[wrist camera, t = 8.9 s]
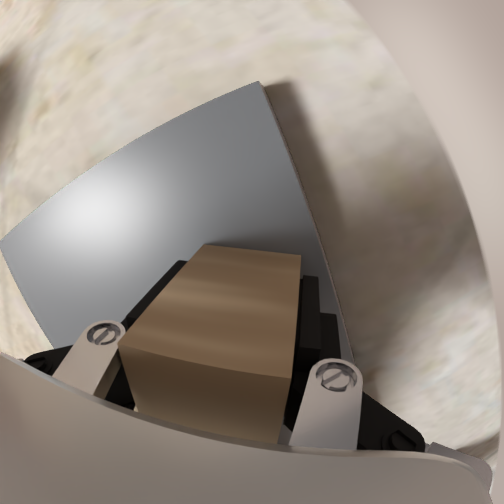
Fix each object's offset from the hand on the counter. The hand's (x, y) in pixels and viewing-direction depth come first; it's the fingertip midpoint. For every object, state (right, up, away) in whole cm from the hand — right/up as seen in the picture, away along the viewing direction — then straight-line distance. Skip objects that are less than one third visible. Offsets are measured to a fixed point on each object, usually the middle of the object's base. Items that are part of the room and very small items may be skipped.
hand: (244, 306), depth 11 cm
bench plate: (-4, -4, +5) cm, 7 cm away
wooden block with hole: (0, -7, +4) cm, 8 cm away
